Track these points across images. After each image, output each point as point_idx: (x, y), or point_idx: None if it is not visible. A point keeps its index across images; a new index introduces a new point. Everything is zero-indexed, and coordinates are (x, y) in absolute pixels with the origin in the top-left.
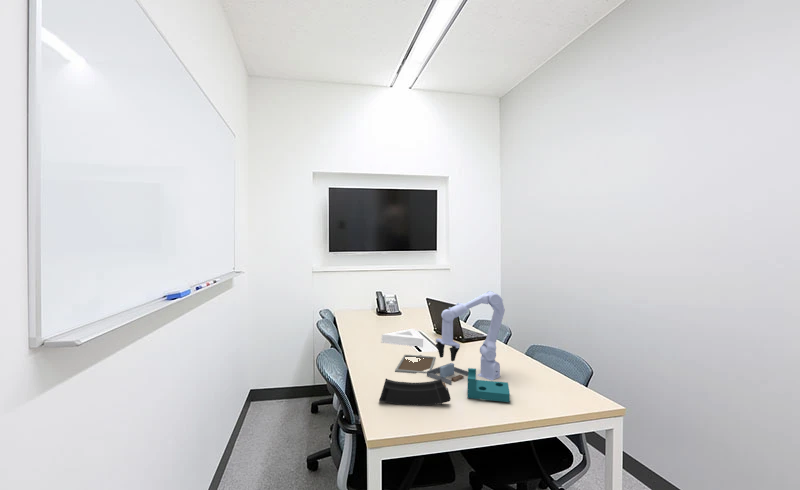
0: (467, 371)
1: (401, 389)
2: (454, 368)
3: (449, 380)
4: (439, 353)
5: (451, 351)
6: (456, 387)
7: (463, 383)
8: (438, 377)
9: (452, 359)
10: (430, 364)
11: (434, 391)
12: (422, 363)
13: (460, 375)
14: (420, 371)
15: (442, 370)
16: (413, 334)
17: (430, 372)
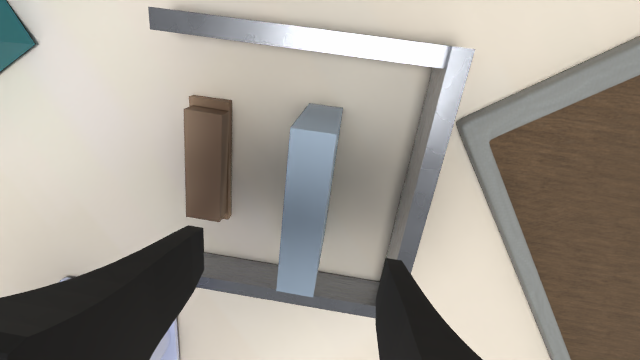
0: (199, 285)
1: None
2: (316, 292)
3: (159, 10)
4: (411, 291)
5: (55, 302)
6: (123, 22)
7: (146, 134)
8: (303, 27)
9: (171, 239)
10: (560, 307)
11: None
12: (638, 292)
13: (205, 207)
14: (569, 91)
15: (304, 121)
16: None
17: (438, 82)
